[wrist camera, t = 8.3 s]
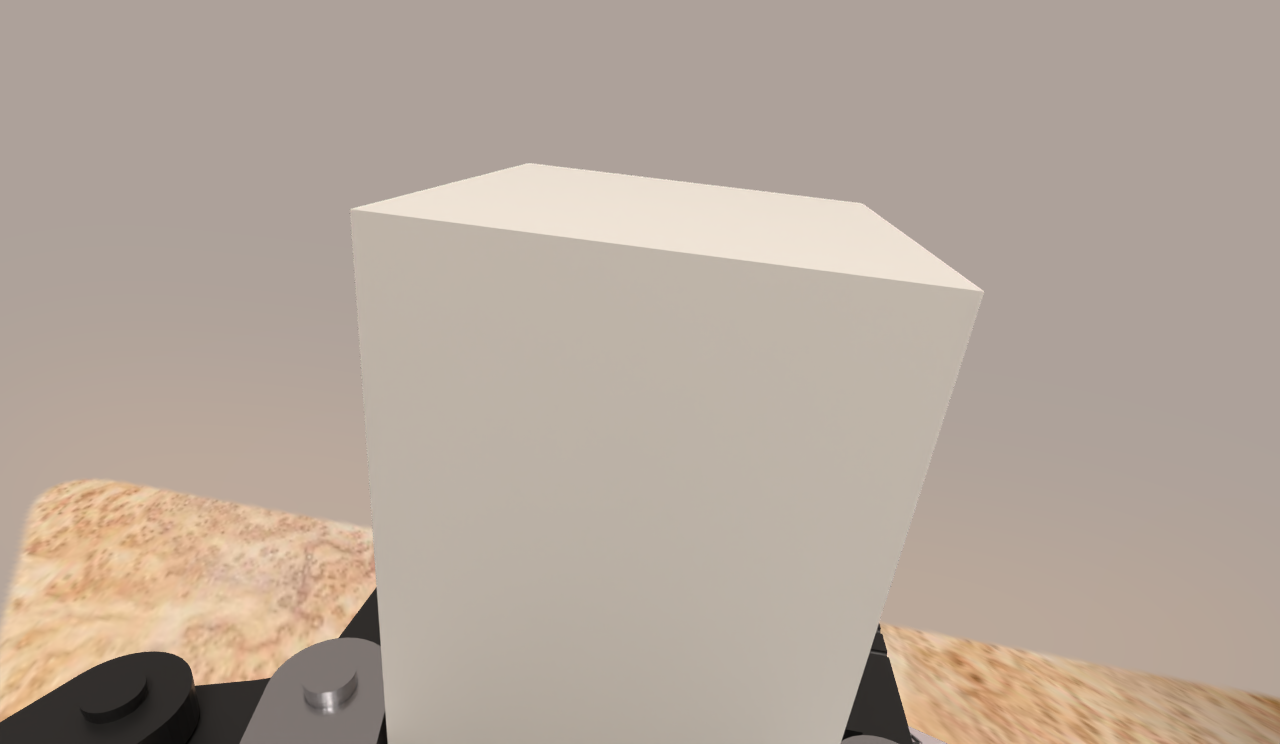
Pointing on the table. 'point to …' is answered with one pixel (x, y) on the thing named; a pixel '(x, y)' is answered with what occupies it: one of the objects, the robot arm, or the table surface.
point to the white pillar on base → (641, 453)
